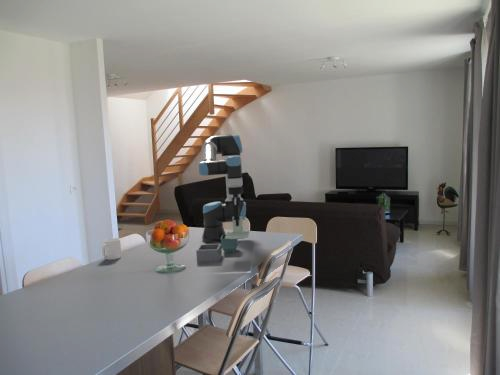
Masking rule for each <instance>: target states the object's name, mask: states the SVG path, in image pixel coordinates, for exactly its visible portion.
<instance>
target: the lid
mask: <svg viewBox="0 0 500 375" xmlns="http://www.w3.org/2000/svg"><path fill="white" fill-rule="evenodd" d="M239 218H240V229H241V232H235V220H233V219H234V217H232V220H233V222H232V231H227V232H226V236H225V239H238V240H244V239H249V237H250V230H244V224H243V221H244V220H242V216H239Z"/></svg>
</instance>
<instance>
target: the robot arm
mask: <svg viewBox="0 0 500 375" xmlns="http://www.w3.org/2000/svg"><path fill="white" fill-rule="evenodd" d="M242 145H243V144H242V140H241V137H240V135H239V134H221V135H212V136H210V137H208V138H206V139H205V140H204V141H203V142H202V143H201V147H200V148H201V154H202V161H199V162H198V174H199V176H201V177H202V176H203V177H204V176H206V177H207V176H218V175H225V186H226V188H225V189H226V198H225V200H224V203H222V201H213V202H209V203H206V204H204V205H203V207H202V214H203V233H202V235H201V236H202V237H201V238H202V239H201V241H202V242H204V243H219V242H221V237H222V235H226V234H227V232H226V231H225V228H224V225H223V224H224V223H233V220H235V232H241V229H240V218H239V216H242V220H243V221H245V220H246V215H247V214H246V211H247V203H246V202H245V201H244V199H243V197H241V196H242V194H243V193H244V190H243V189H244V187H243V182H244V181H243V176H242V175H243V172H242V171H243V170H242V158H241V154H242V153H243V146H242ZM217 155H221V158H222V160H217ZM232 217H234V219H233V220H232Z"/></svg>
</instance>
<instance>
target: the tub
mask: <svg viewBox="0 0 500 375" xmlns="http://www.w3.org/2000/svg"><path fill="white" fill-rule="evenodd" d="M222 250H223V248H222V243H207V244H206V243H205V244H204V243H203V244H200V245H199V246H198V247H197V249H196V250H195V251H196V253H195V254H196V263H198V264H201V263H219V262H220V261H221V258H222V256H223V252H222Z"/></svg>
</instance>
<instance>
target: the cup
mask: <svg viewBox="0 0 500 375" xmlns="http://www.w3.org/2000/svg"><path fill="white" fill-rule="evenodd" d="M101 248H102V249H101V252H102V256H103V257H104V258H105V259H106V260H108V261H110V260H111V261H113V260H117V259H120V258H122V256H123V255H122V254H123V253H122V243H121V238H118V237H113V238H108V239H105V240H104V244H103V245H102V247H101Z"/></svg>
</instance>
